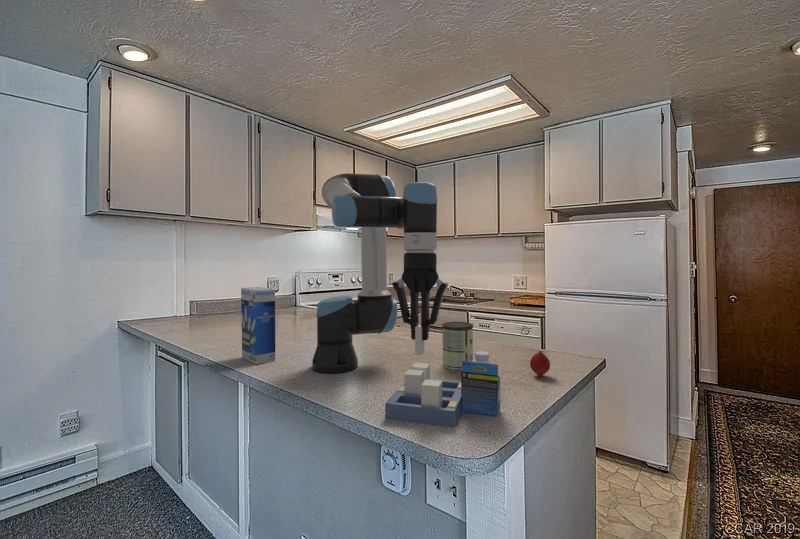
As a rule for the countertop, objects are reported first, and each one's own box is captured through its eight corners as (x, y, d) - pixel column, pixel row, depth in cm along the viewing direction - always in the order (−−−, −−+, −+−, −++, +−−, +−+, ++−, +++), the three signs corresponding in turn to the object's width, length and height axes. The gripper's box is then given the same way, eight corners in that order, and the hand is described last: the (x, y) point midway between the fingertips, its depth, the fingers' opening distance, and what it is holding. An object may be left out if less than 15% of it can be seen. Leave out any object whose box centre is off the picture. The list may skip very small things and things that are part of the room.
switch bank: (385, 418, 90) (385, 402, 90) (409, 389, 109) (409, 376, 109) (454, 427, 85) (454, 410, 85) (467, 395, 104) (467, 381, 104)
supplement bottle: (468, 385, 113) (468, 351, 112) (484, 382, 115) (484, 349, 114) (479, 391, 108) (479, 356, 107) (495, 388, 110) (495, 354, 109)
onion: (526, 376, 121) (526, 350, 120) (534, 372, 125) (535, 347, 124) (545, 380, 117) (545, 353, 116) (553, 375, 121) (553, 350, 120)
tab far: (411, 389, 103) (411, 366, 103) (415, 384, 107) (415, 362, 107) (426, 390, 102) (426, 368, 102) (430, 385, 106) (429, 363, 106)
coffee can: (442, 361, 138) (441, 321, 137) (471, 361, 137) (471, 321, 136) (442, 369, 128) (442, 326, 127) (474, 370, 127) (474, 327, 126)
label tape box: (500, 410, 94) (500, 360, 94) (498, 417, 90) (498, 364, 90) (464, 405, 98) (464, 356, 97) (460, 411, 94) (460, 360, 93)
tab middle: (404, 398, 97) (404, 374, 97) (409, 392, 101) (408, 369, 101) (420, 399, 96) (420, 375, 96) (424, 394, 100) (424, 370, 100)
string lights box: (241, 357, 144) (239, 287, 143) (261, 354, 150) (260, 286, 149) (256, 365, 135) (254, 290, 134) (277, 360, 140) (275, 288, 139)
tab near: (421, 410, 89) (421, 384, 89) (425, 404, 93) (425, 379, 93) (438, 412, 88) (438, 386, 88) (442, 406, 92) (442, 380, 92)
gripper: (387, 251, 88) (387, 355, 90) (445, 252, 84) (444, 360, 86) (398, 251, 95) (398, 347, 97) (451, 251, 91) (450, 351, 93)
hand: (419, 353), depth 91 cm, fingers closed
